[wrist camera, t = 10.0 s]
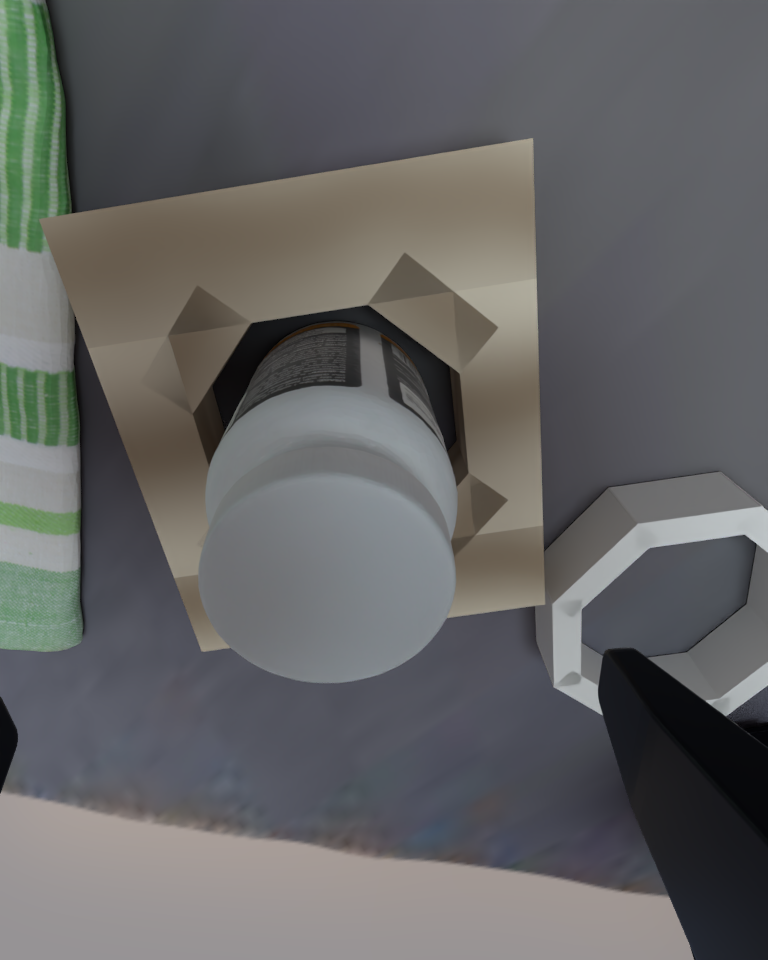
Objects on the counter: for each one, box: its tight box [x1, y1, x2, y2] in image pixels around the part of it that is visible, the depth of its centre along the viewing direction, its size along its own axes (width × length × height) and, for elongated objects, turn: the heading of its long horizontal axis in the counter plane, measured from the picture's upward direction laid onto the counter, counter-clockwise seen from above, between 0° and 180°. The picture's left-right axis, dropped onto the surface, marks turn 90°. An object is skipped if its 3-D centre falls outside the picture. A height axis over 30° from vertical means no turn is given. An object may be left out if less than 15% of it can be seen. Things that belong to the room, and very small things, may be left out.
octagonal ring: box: [535, 471, 768, 716], centre depth 22 cm, size 10×10×2 cm
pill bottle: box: [198, 321, 458, 683], centre depth 15 cm, size 6×6×10 cm
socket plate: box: [39, 138, 545, 652], centre depth 18 cm, size 14×12×2 cm
